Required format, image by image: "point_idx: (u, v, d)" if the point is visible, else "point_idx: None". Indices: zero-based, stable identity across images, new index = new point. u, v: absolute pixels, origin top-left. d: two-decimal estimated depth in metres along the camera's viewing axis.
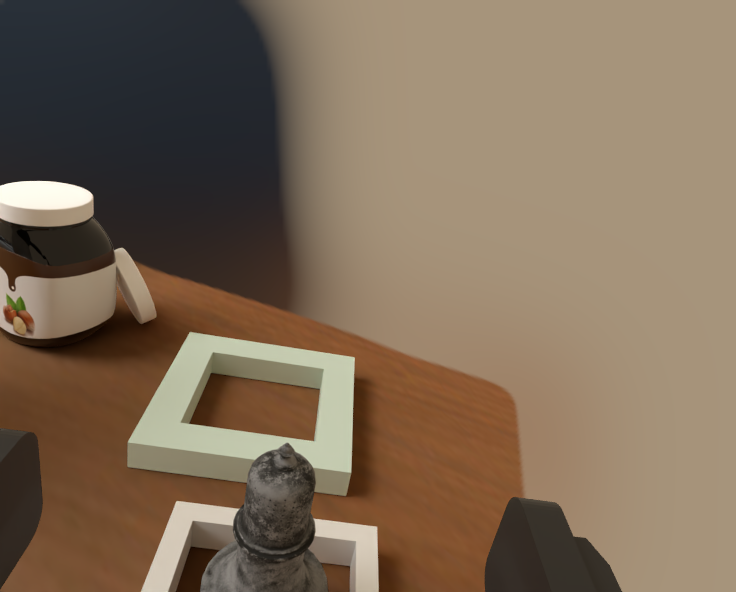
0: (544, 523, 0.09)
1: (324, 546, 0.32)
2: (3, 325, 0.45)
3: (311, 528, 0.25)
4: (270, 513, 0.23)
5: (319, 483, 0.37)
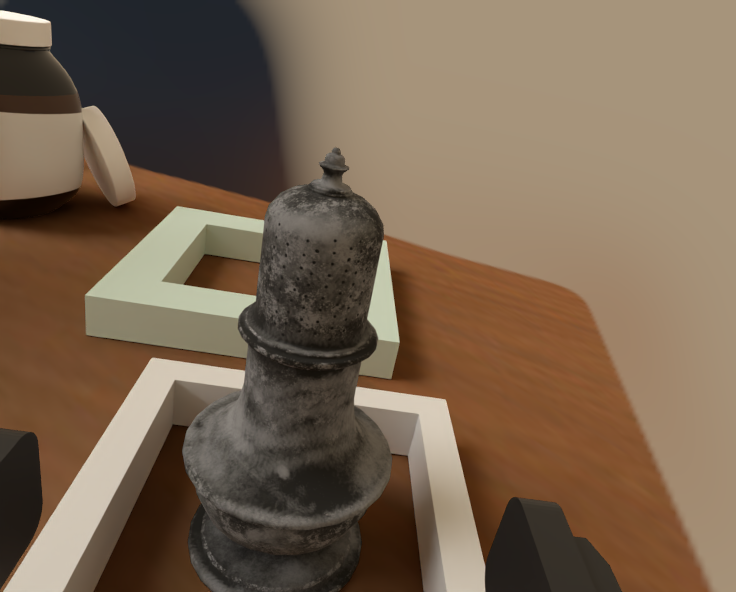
0: (544, 523, 0.09)
1: None
2: None
3: (371, 331, 0.15)
4: (307, 269, 0.13)
5: None
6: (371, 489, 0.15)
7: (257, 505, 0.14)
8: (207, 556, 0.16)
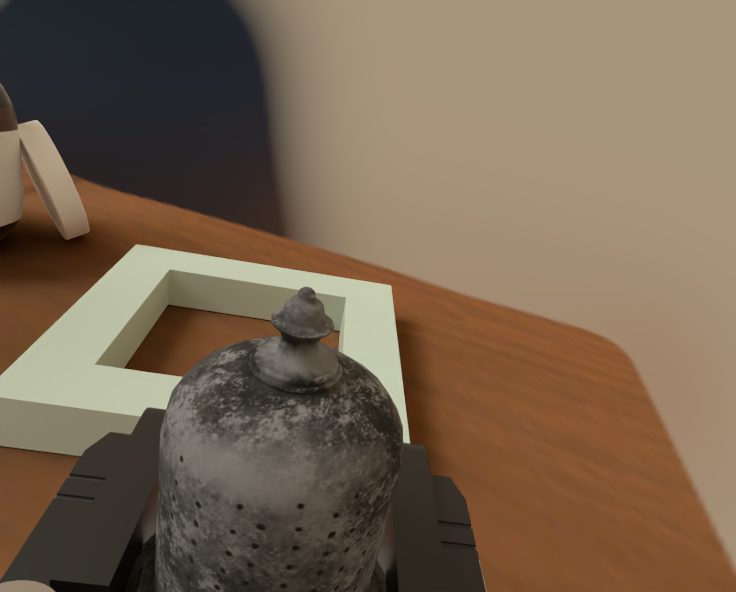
0: (405, 461, 0.10)
1: None
2: None
3: None
4: (241, 556, 0.06)
5: None
6: None
7: None
8: None
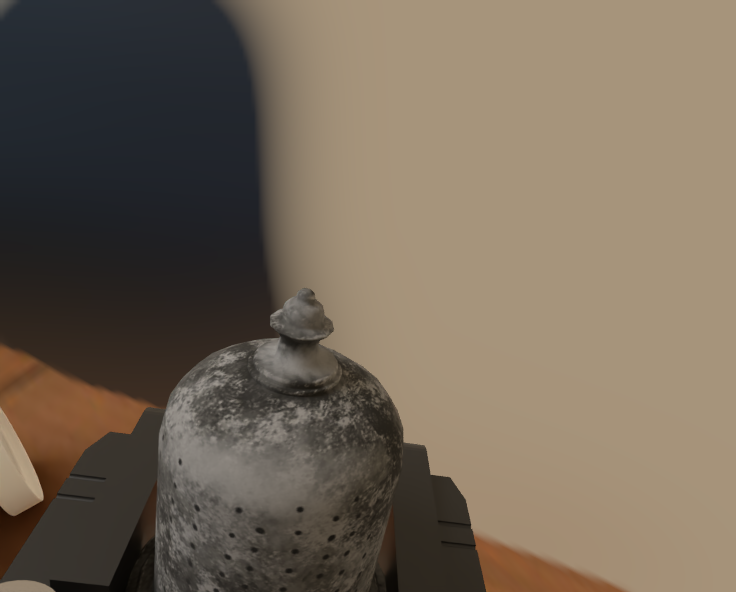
0: (405, 461, 0.10)
1: None
2: None
3: None
4: (239, 560, 0.06)
5: None
6: None
7: None
8: None
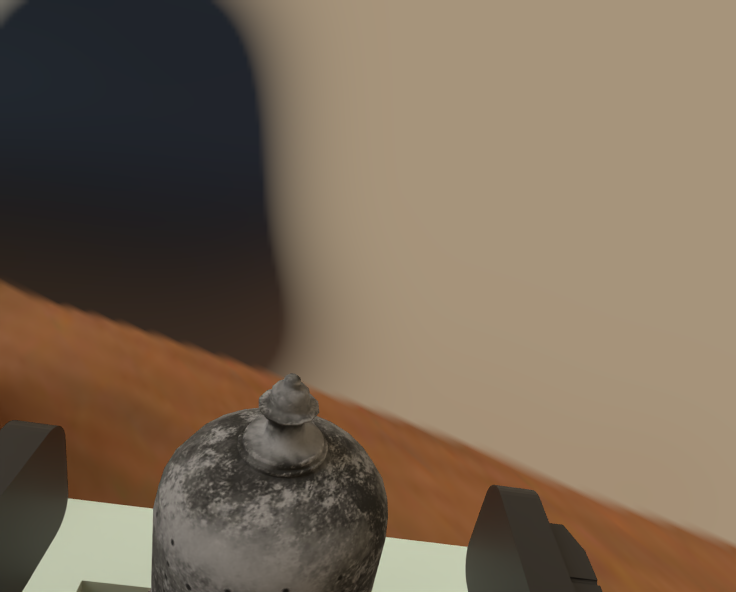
0: (520, 510, 0.09)
1: None
2: None
3: None
4: None
5: None
6: None
7: None
8: None
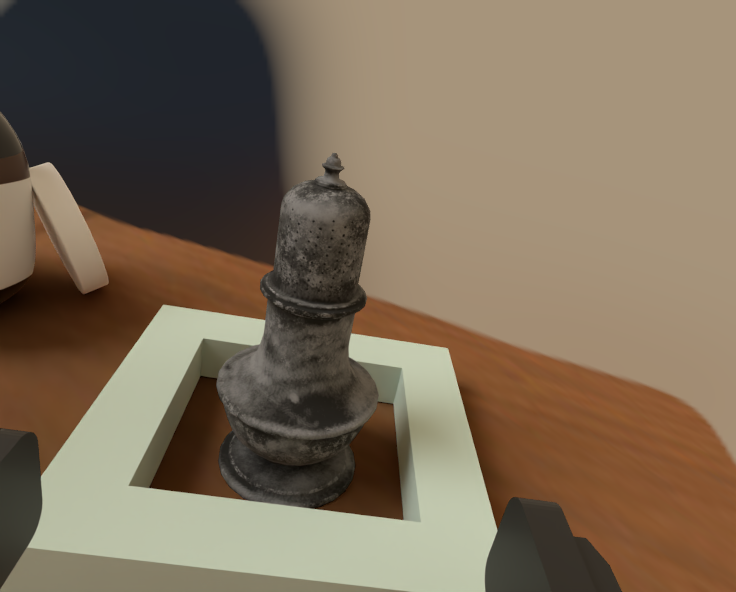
0: (544, 523, 0.09)
1: None
2: None
3: (362, 293, 0.19)
4: (312, 242, 0.17)
5: None
6: (361, 414, 0.20)
7: (275, 421, 0.19)
8: (234, 470, 0.21)
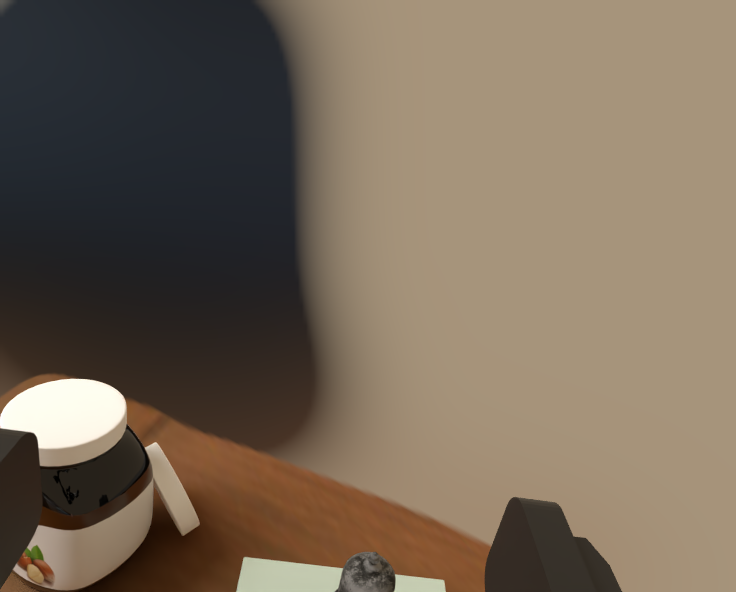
0: (544, 523, 0.09)
1: None
2: (14, 567, 0.36)
3: None
4: None
5: None
6: None
7: None
8: None
